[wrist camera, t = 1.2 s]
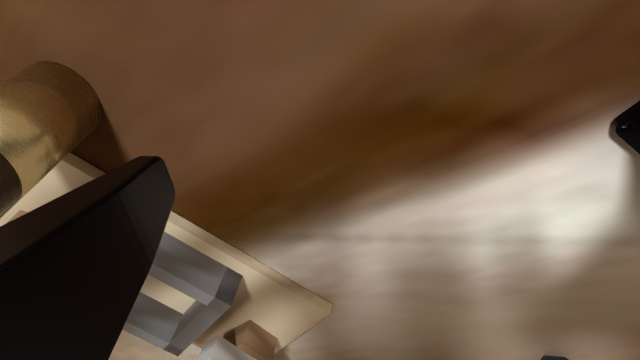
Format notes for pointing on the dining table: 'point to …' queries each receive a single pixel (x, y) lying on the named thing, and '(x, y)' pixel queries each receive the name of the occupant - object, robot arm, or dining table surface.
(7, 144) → the coupler
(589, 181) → the dining table surface
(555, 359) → the gun
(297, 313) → the shaft station
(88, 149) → the dining table surface
